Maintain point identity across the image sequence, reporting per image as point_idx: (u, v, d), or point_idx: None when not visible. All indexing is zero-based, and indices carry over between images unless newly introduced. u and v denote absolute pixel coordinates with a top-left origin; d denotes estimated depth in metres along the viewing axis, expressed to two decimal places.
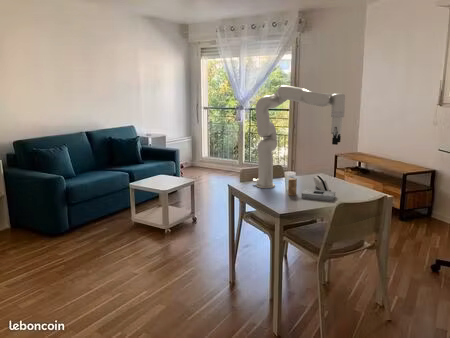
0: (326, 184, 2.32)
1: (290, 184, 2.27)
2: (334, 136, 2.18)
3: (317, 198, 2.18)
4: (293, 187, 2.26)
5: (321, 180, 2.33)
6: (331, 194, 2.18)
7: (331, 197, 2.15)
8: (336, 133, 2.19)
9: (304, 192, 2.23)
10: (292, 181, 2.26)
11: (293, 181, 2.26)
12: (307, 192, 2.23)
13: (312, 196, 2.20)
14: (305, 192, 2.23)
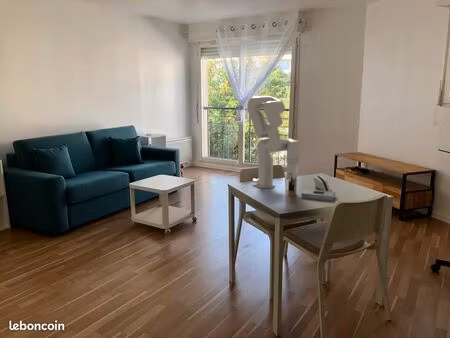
0: (327, 184, 2.31)
1: None
2: (290, 183, 2.24)
3: (317, 198, 2.18)
4: None
5: (322, 180, 2.33)
6: (331, 194, 2.18)
7: (331, 197, 2.15)
8: (292, 180, 2.25)
9: (304, 192, 2.23)
10: (292, 181, 2.26)
11: None
12: (307, 192, 2.23)
13: (312, 196, 2.20)
14: (305, 192, 2.23)
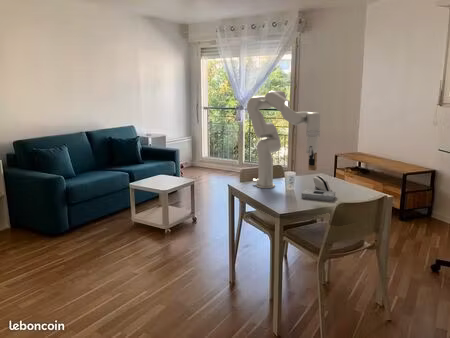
0: (327, 184, 2.31)
1: None
2: (310, 157, 2.15)
3: (317, 198, 2.18)
4: None
5: (322, 180, 2.32)
6: (331, 194, 2.18)
7: (331, 197, 2.15)
8: None
9: (304, 192, 2.23)
10: None
11: None
12: (307, 192, 2.23)
13: (312, 196, 2.20)
14: (305, 192, 2.23)
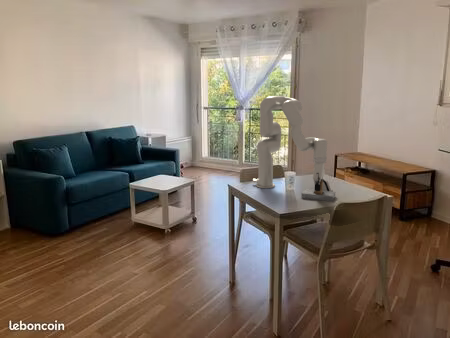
0: (328, 185, 2.31)
1: None
2: (316, 183, 2.16)
3: (317, 198, 2.18)
4: (320, 190, 2.20)
5: (323, 181, 2.32)
6: (331, 194, 2.18)
7: (331, 197, 2.15)
8: (318, 179, 2.16)
9: (304, 192, 2.23)
10: None
11: (320, 183, 2.19)
12: (307, 192, 2.23)
13: (312, 196, 2.20)
14: (305, 192, 2.23)
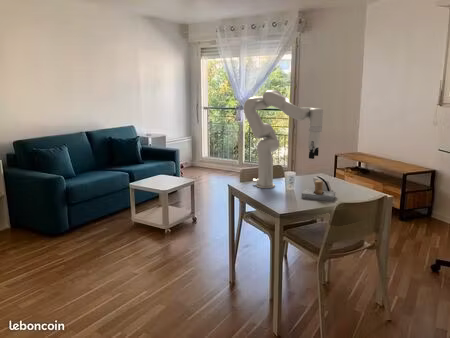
0: (329, 185, 2.30)
1: (317, 186, 2.20)
2: (310, 150, 2.19)
3: (317, 198, 2.18)
4: (320, 190, 2.20)
5: (323, 181, 2.31)
6: (331, 194, 2.18)
7: (331, 197, 2.15)
8: (313, 147, 2.21)
9: (304, 192, 2.23)
10: (319, 183, 2.19)
11: (320, 183, 2.19)
12: (307, 192, 2.23)
13: (312, 196, 2.20)
14: (305, 192, 2.23)
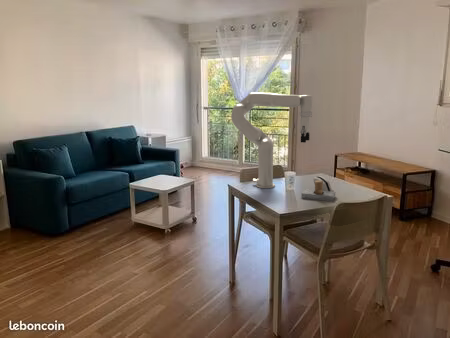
0: (329, 185, 2.30)
1: (317, 186, 2.20)
2: (302, 134, 2.34)
3: (317, 198, 2.18)
4: (320, 190, 2.20)
5: (324, 181, 2.31)
6: (331, 194, 2.18)
7: (331, 197, 2.15)
8: (304, 132, 2.35)
9: (304, 192, 2.23)
10: (319, 183, 2.19)
11: (320, 183, 2.19)
12: (307, 192, 2.23)
13: (312, 196, 2.20)
14: (305, 192, 2.23)
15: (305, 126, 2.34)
